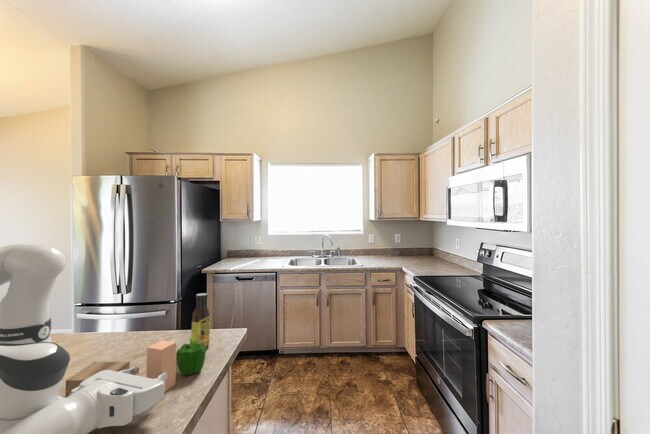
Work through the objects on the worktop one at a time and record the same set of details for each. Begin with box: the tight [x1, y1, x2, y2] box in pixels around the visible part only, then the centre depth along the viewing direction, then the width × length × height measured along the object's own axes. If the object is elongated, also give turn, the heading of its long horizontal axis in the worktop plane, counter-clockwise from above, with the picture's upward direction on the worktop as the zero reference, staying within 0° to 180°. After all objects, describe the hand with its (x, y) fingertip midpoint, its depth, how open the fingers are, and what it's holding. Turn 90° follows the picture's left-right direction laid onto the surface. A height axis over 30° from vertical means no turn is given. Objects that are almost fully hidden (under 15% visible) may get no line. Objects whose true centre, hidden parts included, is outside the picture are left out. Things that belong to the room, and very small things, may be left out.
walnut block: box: [64, 361, 130, 398], centre depth 80 cm, size 10×10×5 cm
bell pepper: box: [176, 336, 207, 376], centre depth 90 cm, size 8×8×10 cm
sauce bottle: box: [190, 292, 211, 350], centre depth 106 cm, size 7×6×20 cm
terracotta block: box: [146, 340, 177, 392], centre depth 81 cm, size 5×5×12 cm
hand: (150, 372), depth 77 cm, fingers open, 8 cm apart
